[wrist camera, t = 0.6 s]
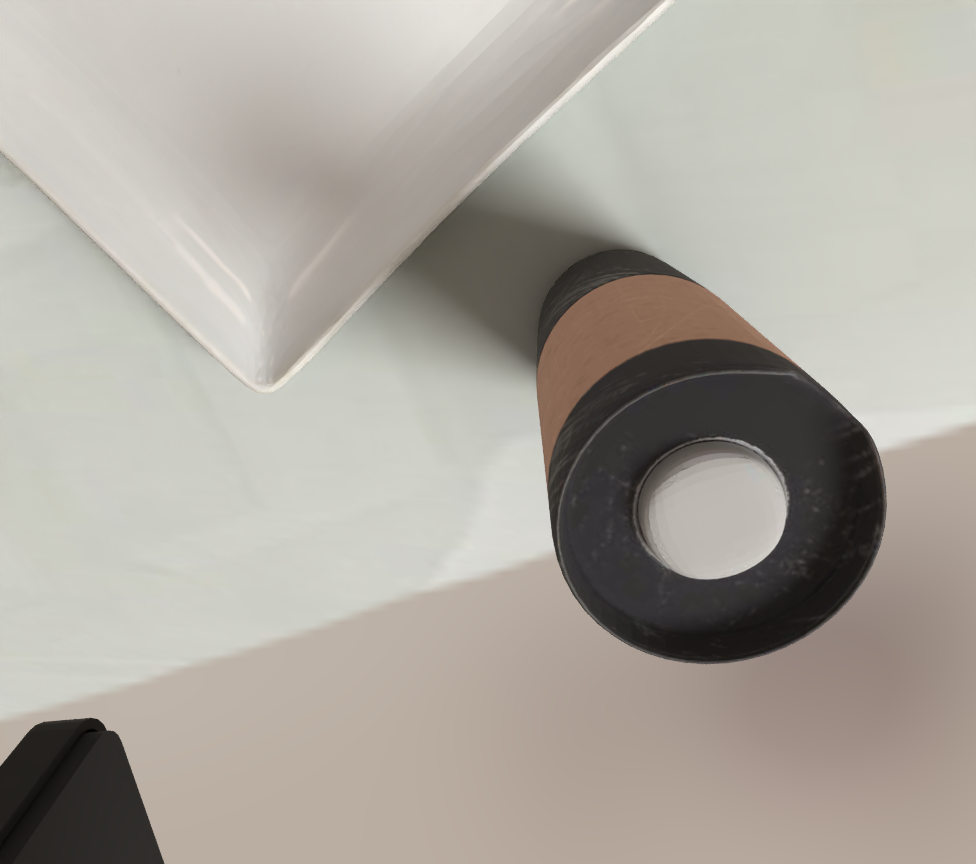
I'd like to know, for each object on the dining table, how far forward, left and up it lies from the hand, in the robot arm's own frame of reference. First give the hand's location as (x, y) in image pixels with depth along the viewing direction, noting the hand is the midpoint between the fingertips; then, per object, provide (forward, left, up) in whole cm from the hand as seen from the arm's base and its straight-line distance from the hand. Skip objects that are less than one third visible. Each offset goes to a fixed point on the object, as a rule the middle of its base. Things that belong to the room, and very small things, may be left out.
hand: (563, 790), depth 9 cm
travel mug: (-1, +4, -30) cm, 30 cm away
